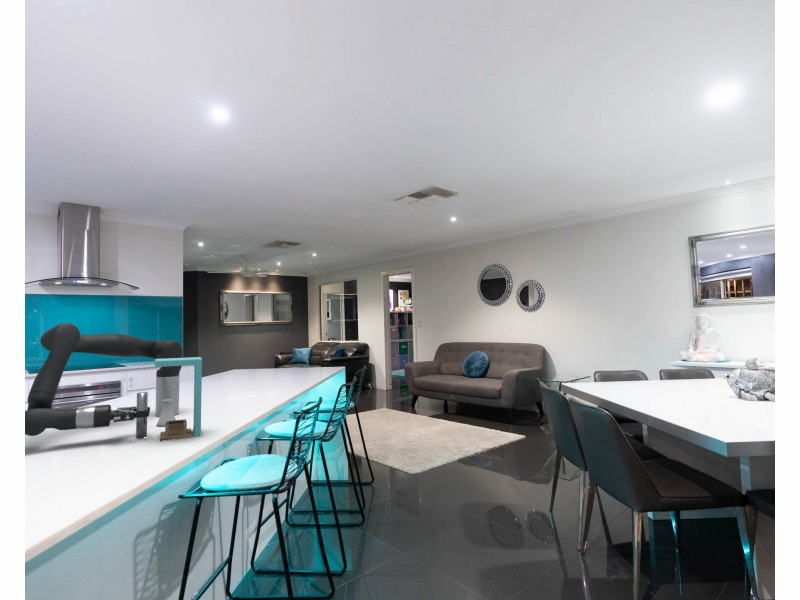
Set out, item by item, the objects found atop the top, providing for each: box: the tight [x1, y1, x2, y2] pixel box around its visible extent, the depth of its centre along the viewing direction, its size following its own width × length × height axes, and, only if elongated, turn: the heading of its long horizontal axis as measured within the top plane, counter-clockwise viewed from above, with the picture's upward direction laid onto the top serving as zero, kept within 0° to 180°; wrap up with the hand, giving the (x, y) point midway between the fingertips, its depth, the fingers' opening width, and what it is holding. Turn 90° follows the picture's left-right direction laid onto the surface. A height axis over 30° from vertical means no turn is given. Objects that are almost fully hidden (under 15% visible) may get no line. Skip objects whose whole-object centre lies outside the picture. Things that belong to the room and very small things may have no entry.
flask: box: [156, 399, 177, 427], centre depth 173 cm, size 7×7×10 cm
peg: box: [135, 391, 149, 439], centre depth 154 cm, size 3×3×16 cm
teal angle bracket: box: [154, 356, 203, 438], centre depth 157 cm, size 10×15×28 cm, turn 118°
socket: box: [159, 418, 193, 442], centre depth 156 cm, size 10×10×5 cm
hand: (149, 411), depth 156 cm, fingers open, 6 cm apart
